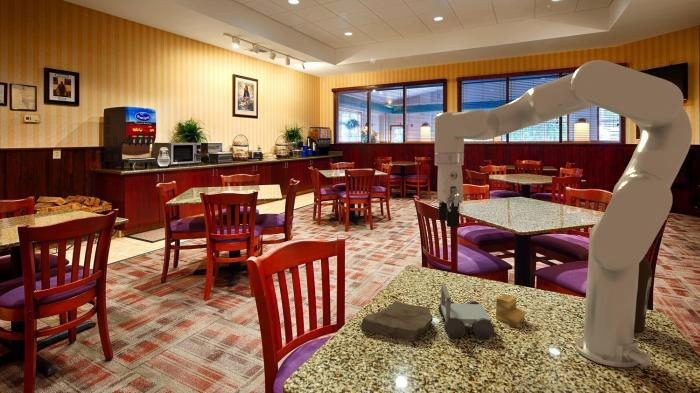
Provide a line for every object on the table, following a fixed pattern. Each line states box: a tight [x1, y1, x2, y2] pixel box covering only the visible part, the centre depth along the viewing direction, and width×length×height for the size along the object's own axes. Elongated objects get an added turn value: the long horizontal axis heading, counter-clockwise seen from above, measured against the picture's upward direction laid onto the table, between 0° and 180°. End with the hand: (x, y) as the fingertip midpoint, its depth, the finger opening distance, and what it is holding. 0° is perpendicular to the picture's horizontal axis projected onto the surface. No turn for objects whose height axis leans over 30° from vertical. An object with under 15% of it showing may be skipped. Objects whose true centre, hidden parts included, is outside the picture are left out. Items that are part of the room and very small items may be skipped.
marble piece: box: [360, 301, 434, 342], centre depth 108 cm, size 17×15×4 cm
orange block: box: [495, 293, 526, 326], centre depth 111 cm, size 6×4×6 cm
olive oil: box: [634, 256, 653, 334], centre depth 105 cm, size 11×11×25 cm
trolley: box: [438, 283, 495, 340], centre depth 106 cm, size 12×13×10 cm
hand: (448, 223), depth 109 cm, fingers open, 9 cm apart
